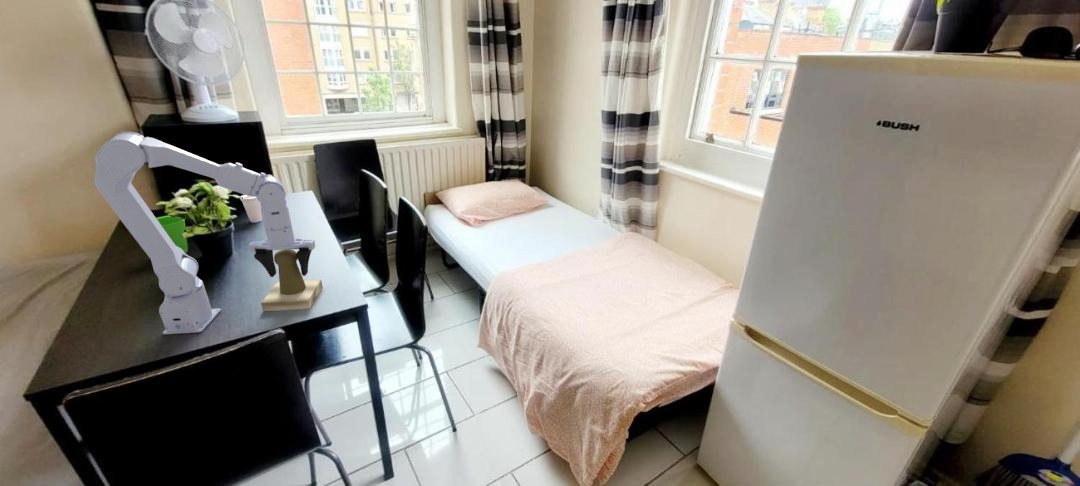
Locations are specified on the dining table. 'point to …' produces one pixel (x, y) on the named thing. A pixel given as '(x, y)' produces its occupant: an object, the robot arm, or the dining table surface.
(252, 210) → the smoothie
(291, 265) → the cork
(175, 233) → the cup
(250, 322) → the dining table surface
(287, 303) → the birch riser block
